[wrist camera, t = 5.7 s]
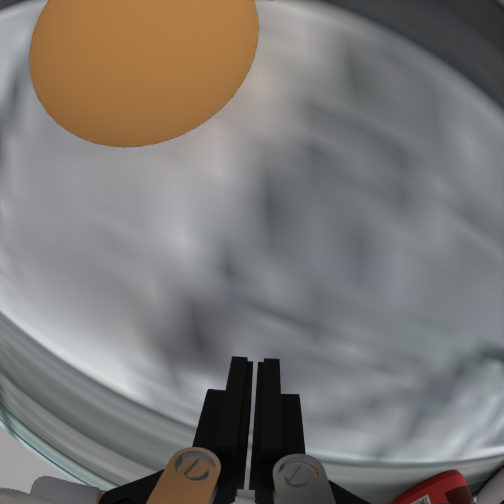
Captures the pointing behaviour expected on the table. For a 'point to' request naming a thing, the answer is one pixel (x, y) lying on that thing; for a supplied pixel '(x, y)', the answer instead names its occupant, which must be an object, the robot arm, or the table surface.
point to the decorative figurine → (493, 490)
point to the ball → (140, 65)
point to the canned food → (439, 491)
